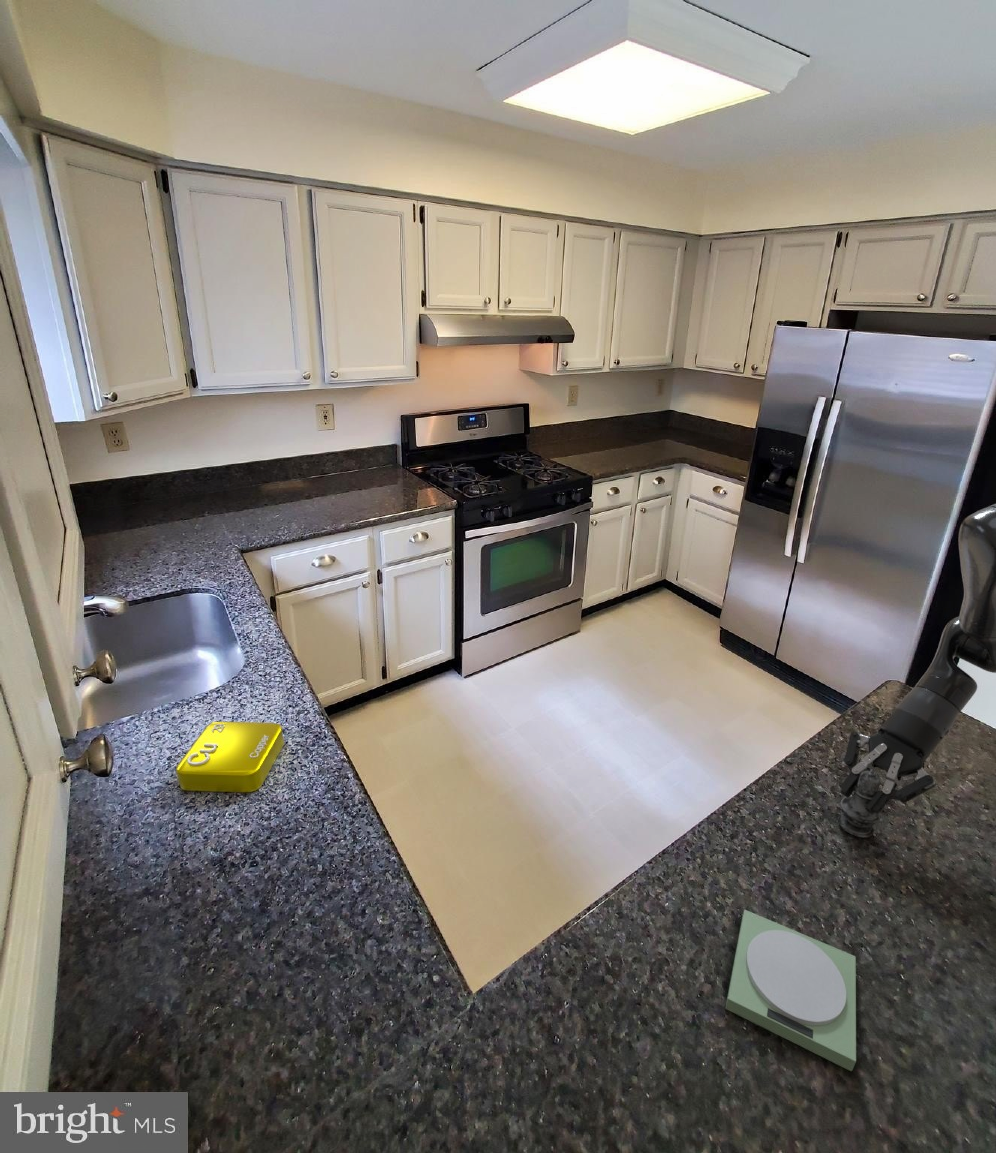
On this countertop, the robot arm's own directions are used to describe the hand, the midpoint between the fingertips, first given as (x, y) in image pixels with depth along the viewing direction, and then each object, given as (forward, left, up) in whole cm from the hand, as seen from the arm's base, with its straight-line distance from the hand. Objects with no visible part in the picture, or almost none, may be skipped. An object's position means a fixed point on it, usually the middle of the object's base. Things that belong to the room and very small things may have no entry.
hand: (856, 803), depth 98 cm
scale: (+6, +32, -7) cm, 34 cm away
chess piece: (-1, -2, -6) cm, 6 cm away
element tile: (+103, +39, -7) cm, 111 cm away
